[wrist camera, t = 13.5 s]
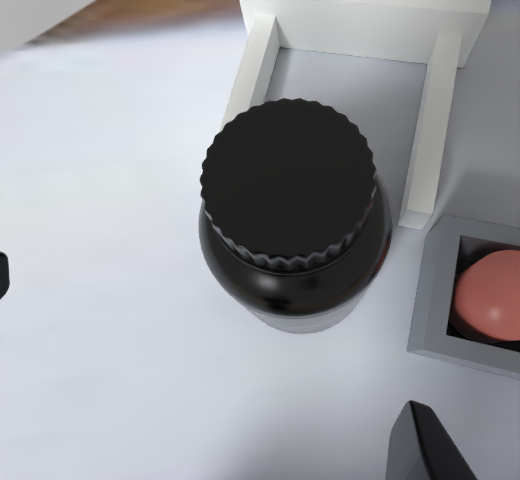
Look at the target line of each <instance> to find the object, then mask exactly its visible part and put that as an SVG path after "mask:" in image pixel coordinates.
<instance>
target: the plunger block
mask: <svg viewBox="0 0 520 480" xmlns="http://www.w3.org/2000/svg"><path fill="white" fill-rule="evenodd" d="M503 250H516V251H520V228H516V227H510V226H505V225H499V224H494V223H488V222H483V221H477V220H472V219H466V218H461V217H455V216H450V215H443V216H442V218H441V219H440V220H439V221H438V222H437V224H436V225H435V226H434V227H433V229H432V230H431V231H430V232H429V233H428V235H427V236H426V239H425V245H424V251H423V257H422V263H421V269H420V275H419V281H418V287H417V293H416V299H415V305H414V311H413V317H412V323H411V329H410V335H409V341H408V347H407V352H410V353H414V354H418V355H422V356H426V357H430V358H434V359H438V360H442V361H446V362H450V363H454V364H458V365H462V366H467V367H471V368H475V369H479V370H483V371H487V372H491V373H495V374H499V375H503V376H507V377H511V378H515V379H519V380H520V352H515V351H511V350H507V349H503V348H498V347H494V346H490V345H486V344H482V343H477V342H473V341H469V340H465V339H460V338H456V337H452V336H448V335H446V331H447V324H448V317H449V310H450V304H451V297H452V290H453V283H454V276H455V269H456V262H457V258H460V259H465V260H470V261H475V262H478V261H479V260H481V259H482V258H484V257H485V256H487V255H489V254H491V253H494V252H498V251H503Z"/></svg>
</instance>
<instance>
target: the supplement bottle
mask: <svg viewBox="0 0 520 480" xmlns="http://www.w3.org/2000/svg"><path fill="white" fill-rule="evenodd" d="M202 169H203V173H202V175H201V177H200V183H201V186H202V190H201V198H202V204H201V208H200V213H199V239H200V244H201V249H202V252H203V255H204V258H205V261H206V263H207V265H208V267H209V269H210V271H211V272H212V274H213V275H214V277H215V278H216V280H217V281H218V282H219V284H220V285H221V286H222V287H223V288H224V289H225V290H226V292H228V293H229V294H230V295H231V296H232V297H233V298H234V299H235V300H237V301H238V302H239V303H240V304H241V305H243V306H244V307H245V308H246V309H247V310H249V311H250V312H251V313H252V314H254V315H255V316H256V317H257V318H259V319H260V320H261V321H263V322H264V323H266V324H268V325H269V326H271V327H273V328H275V329H278V330H281V331H284V332H288V333H295V334H308V333H315V332H319V331H323V330H325V329H328V328H330V327H332V326H334V325H336V324H337V323H339V322H340V321H342V320H343V319H344V318H345V317H347V316H348V315H349V314H350V313H351V311H352V310H353V309H354V308H355V307H356V306H357V304H358V303H359V301H360V300H361V298H362V297H363V295H364V294H365V292H366V291H367V289H368V288H369V286H370V285H371V283H372V282H373V280H374V279H375V277H376V276H377V274H378V273H379V271H380V269H381V267H382V265H383V263H384V260H385V258H386V255H387V253H388V250H389V246H390V242H391V237H392V226H393V221H392V210H391V204H390V201H389V197H388V194H387V191H386V189H385V186H384V184H383V182H382V180H381V179H380V177H379V175H378V174H377V172H376V168H375V166H374V164H373V153H372V151H371V150H370V149H369V148H368V147H367V139H366V138H365V137H364V136H363V135H361V134H360V133H359V129H358V127H357V125H355V124H353V123H351V122H349V120H348V118H347V117H346V116H345V115H344V114H341V113H337V112H336V111H335V110H334V109H333V108H332V107H330V106H323V105H321V104H320V103H319V102H317V101H306V100H303V99H301V98H299V99H295V100H290V99H285V98H283V99H280V100H278V101H267V102H265V103H263V104H262V105H257V106H252V107H251V108H249V109H248V110H247V111H246V112H242V113H239V114H237V115H236V117H235V118H234V119H233V120H232V121H230V122H228V123H226V124H225V125H224V127H223V129H222V131H221V132H220V133H218V134H217V135H216V136H215V138H214V141H213V144H212V145H211V146H210V147H209V148H208V149H207V157H206V159H205V160H204V161H203V163H202Z"/></svg>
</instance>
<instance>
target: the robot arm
mask: <svg viewBox="0 0 520 480" xmlns="http://www.w3.org/2000/svg"><path fill="white" fill-rule="evenodd" d="M9 285H10V280H9V263H8V257H7V255H6V254H5V253H3V252H0V299H1V298H2V297H3V296H4V295H5V294H6V292H7V291H8V288H9ZM385 480H478V479H477V478H476V476H475V475H474V473H473V472H472V470H471V468H470V467H469V465H468V464H467V462H466V461H465V459H464V458H463V456H462V455H461V453H460V452H459V450H458V448H457V447H456V445H455V444H454V442H453V441H452V439H451V438H450V436H449V435H448V433H447V431H446V430H445V428H444V427H443V425H442V424H441V422H440V421H439V419H438V418H437V416H436V414H435V413H434V411H433V410H432V409H431V408H430V407H429V406H427V405H424V404H421V403H418V402H415V401H412V400H411V401H408V402H407V403H406V404H405V406H404V408H403V410H402V411H401V413H400V415H399V417H398V419H397V420H396V422H395V424H394V426H393V428H392V431H391V434H390V440H389V449H388V459H387V468H386V478H385Z"/></svg>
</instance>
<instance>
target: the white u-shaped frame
mask: <svg viewBox="0 0 520 480" xmlns="http://www.w3.org/2000/svg"><path fill="white" fill-rule="evenodd" d="M240 5H241V9H242V13H243V18H244V22H245V26H246V30H247V35H248V41H247V44H246V47H245V50H244V54H243V57H242V60H241V63H240V67H239V70H238V73H237V76H236V80H235V83H234V86H233V89H232V92H231V96H230V99H229V102H228V105H227V109H226V112H225V115H224V118H223V122H222V125H221V128H220V131H219V133H220V132H221V131H222V129H223V127H224V125H225V124H226V123H228V122H230V121H232V120H233V119H234V118H235V117H236V115H237V114H239V113H242V112H246V111H247V110H248V109H249V108H251V107H252V106H257V105H262V104H263V103H264V101H265V97H266V94H267V90H268V87H269V83H270V80H271V76H272V73H273V69H274V66H275V62H276V59H277V55H278V52H279V48H280V47H283V48H291V49H300V50H309V51H318V52H327V53H335V54H344V55H353V56H362V57H371V58H379V59H388V60H397V61H406V62H414V63H423V64H428V65H427V70H426V76H425V81H424V87H423V92H422V98H421V103H420V108H419V114H418V119H417V125H416V130H415V136H414V141H413V146H412V152H411V157H410V163H409V168H408V174H407V179H406V184H405V190H404V195H403V201H402V206H401V212H400V217H399V223H398V226H403V227H409V228H414V229H419V230H422V228H423V227H424V226H425V224H426V223H427V222H428V220H429V219H430V217H431V216H432V215H433V211H434V205H435V199H436V193H437V187H438V181H439V175H440V169H441V162H442V156H443V150H444V144H445V138H446V132H447V126H448V120H449V114H450V108H451V102H452V96H453V89H454V83H455V77H456V71H457V67H458V68H464V66H465V64H466V62H467V60H468V58H469V56H470V54H471V51H472V49H473V47H474V45H475V43H476V41H477V39H478V37H479V35H480V32H481V30H482V28H483V26H484V24H485V22H486V20H487V18H488V16H489V13H490V6H491V0H240Z"/></svg>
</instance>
